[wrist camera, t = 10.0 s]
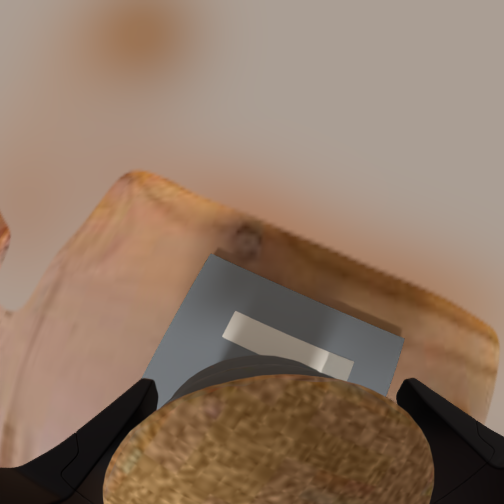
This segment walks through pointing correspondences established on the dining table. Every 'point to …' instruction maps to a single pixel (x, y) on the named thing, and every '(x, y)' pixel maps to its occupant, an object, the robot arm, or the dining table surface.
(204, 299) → the pad
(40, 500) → the robot arm
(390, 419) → the bottle
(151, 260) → the dining table surface
